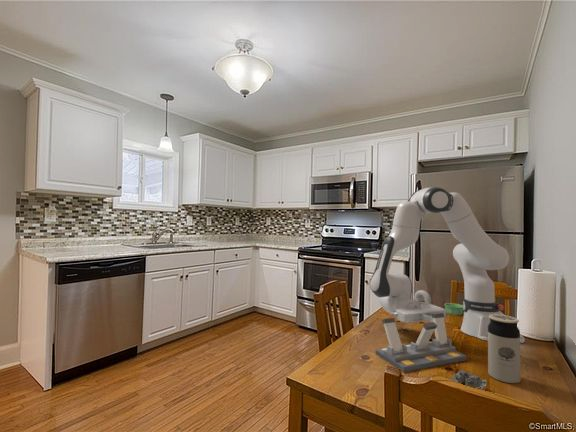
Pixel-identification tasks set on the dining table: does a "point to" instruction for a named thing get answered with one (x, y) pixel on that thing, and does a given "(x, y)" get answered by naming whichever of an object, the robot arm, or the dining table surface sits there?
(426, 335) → the lever middle
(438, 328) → the lever inner
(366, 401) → the dining table surface
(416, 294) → the donut
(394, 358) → the switch panel
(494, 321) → the travel mug
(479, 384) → the egg carton
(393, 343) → the lever outer
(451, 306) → the ramekin
